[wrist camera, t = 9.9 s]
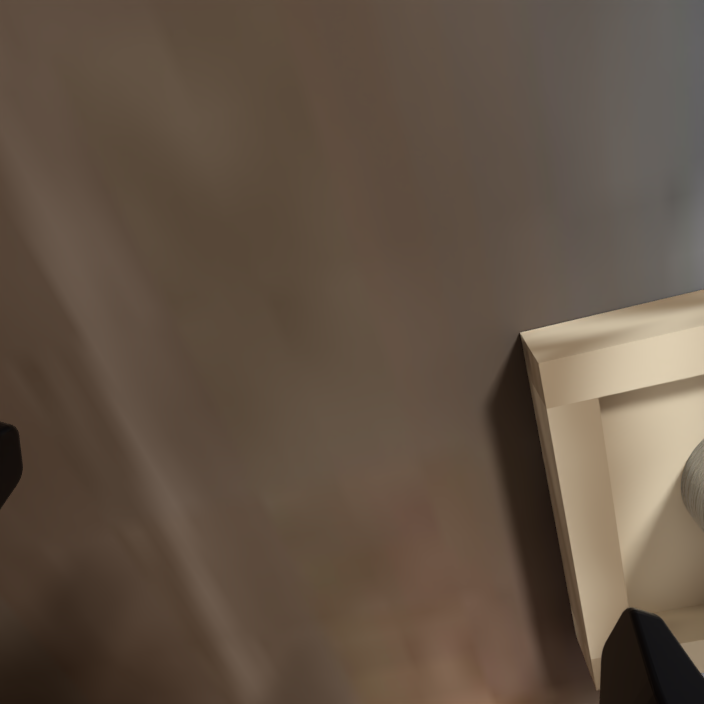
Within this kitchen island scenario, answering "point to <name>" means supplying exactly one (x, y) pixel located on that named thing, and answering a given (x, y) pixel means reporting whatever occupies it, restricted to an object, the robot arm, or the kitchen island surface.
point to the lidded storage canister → (694, 485)
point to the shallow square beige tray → (624, 463)
